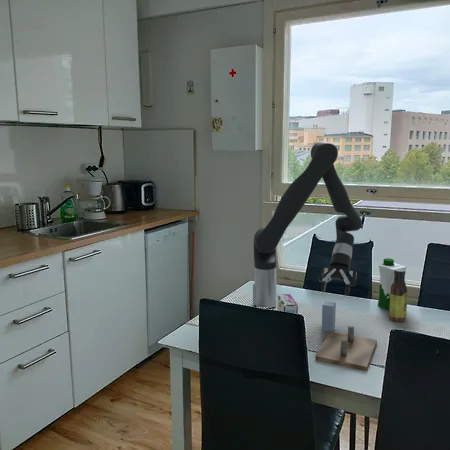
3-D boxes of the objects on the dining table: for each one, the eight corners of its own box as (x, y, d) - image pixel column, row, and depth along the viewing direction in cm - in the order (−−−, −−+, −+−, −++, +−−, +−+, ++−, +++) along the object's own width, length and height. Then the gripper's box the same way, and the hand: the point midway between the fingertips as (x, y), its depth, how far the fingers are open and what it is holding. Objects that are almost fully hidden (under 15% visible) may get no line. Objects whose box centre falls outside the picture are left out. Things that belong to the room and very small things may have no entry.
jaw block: (321, 330, 164) (322, 304, 162) (324, 326, 167) (325, 301, 165) (332, 332, 162) (333, 306, 160) (335, 327, 165) (335, 302, 163)
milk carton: (389, 301, 190) (391, 256, 186) (406, 308, 182) (409, 262, 178) (374, 305, 186) (376, 259, 182) (391, 312, 178) (394, 265, 174)
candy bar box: (297, 351, 148) (298, 305, 145) (283, 352, 148) (283, 305, 144) (290, 336, 159) (290, 293, 156) (276, 337, 158) (276, 293, 155)
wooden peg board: (315, 360, 142) (315, 341, 140) (330, 335, 159) (330, 318, 158) (366, 371, 135) (367, 351, 133) (376, 343, 152) (377, 326, 151)
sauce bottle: (407, 323, 168) (410, 273, 164) (390, 322, 169) (393, 272, 166) (404, 316, 174) (407, 268, 171) (387, 315, 176) (390, 267, 172)
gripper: (322, 250, 177) (314, 286, 169) (358, 253, 171) (352, 291, 163) (325, 259, 183) (317, 295, 175) (360, 263, 176) (354, 300, 168)
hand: (334, 293), depth 169 cm, fingers open, 8 cm apart
